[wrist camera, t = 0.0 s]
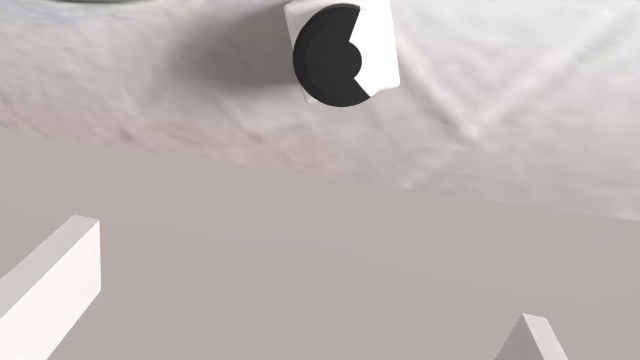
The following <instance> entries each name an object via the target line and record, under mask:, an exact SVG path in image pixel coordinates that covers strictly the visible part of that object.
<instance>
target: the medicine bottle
mask: <svg viewBox="0 0 640 360" xmlns="http://www.w3.org/2000/svg"><path fill="white" fill-rule="evenodd" d="M284 13H285V18H286V22H287V26H288V31H289V35H290V39H291V44H292V48H293V65H294V70H295V74H296V76H297V78H298V81H299V82H300V84H301V87H302V91H303V96H304V100H305V102H306V103H315V102H321V103H324V104H326V105H330V106H335V107H348V106H353V105H357V104H360V103H362V102H364V101H366V100H367V99H369V98H370V97H372V96H373V95H374V94H375V93H376V92H377V91H380V90H385V89H390V88H396V87H398V86H399V84H400V78H399V71H398V63H397V56H396V48H395V40H394V33H393V25H392V18H391V10H390V2H389V0H293V1H291V2H289V3H288V4H286V5H285V6H284Z"/></svg>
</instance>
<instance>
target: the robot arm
mask: <svg viewBox="0 0 640 360" xmlns="http://www.w3.org/2000/svg"><path fill="white" fill-rule="evenodd" d="M100 290H101V275H100V230H99V220H96V219H91V218H87V217H82V216H78V215H73V216H72V217H71V218H70V219H68V220H67V221H66V222H65V223H64V224H63V225H62V226H60V227H59V228H58V229H57V230H56V231H55V232H54V233H53V234H51V235H50V236H49V237H48V238H47V239H46V240H45V241H44V242H42V243H41V244H40V245H39V246H38V247H37V248H36V249H35V250H33V252H31V253H30V254H29V255H28V256H27V257H26V258H24V259H23V260H22V261H21V262H20V263H19V264H18V265H17V266H16V267H15V268H13V269H12V270H11V271H10V272H9V273H8V274H6V275H5V276H4V277H3V278H2V279H1V280H0V360H46V359H47V358H48V357H49V356H50V354H51V353H52V352H53V351H54V349H55V348H56V347H57V345H58V344H59V343H60V342H61V340H62V339H63V338H64V336H65V335H66V334H67V333H68V331H69V330H70V329H71V328H72V326H73V325H74V324H75V322H76V321H77V320H78V319H79V317H80V316H81V315H82V313H83V312H84V311H85V310H86V308H87V307H88V306H89V304H90V303H91V302H92V301H93V299H94V298H95V297H96V296H97V294H98V293H99V292H100ZM495 360H568V359H567V357H566V355H565V353H564V351H563V349H562V347H561V346H560V344H559V342H558V340H557V338H556V336H555V334H554V332H553V331H552V329H551V327H550V325H549V323H548V321H547V319H546V318H542V317H537V316H533V315H528V314H523V313H522V314H521V316H520V318H519V319H518V321H517V323H516V325H515V326H514V328H513V330H512V332H511V333H510V335H509V337H508V338H507V340H506V342H505V344H504V345H503V347H502V349H501V351H500V353H499V354H498V356H497V358H496V359H495Z"/></svg>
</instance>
